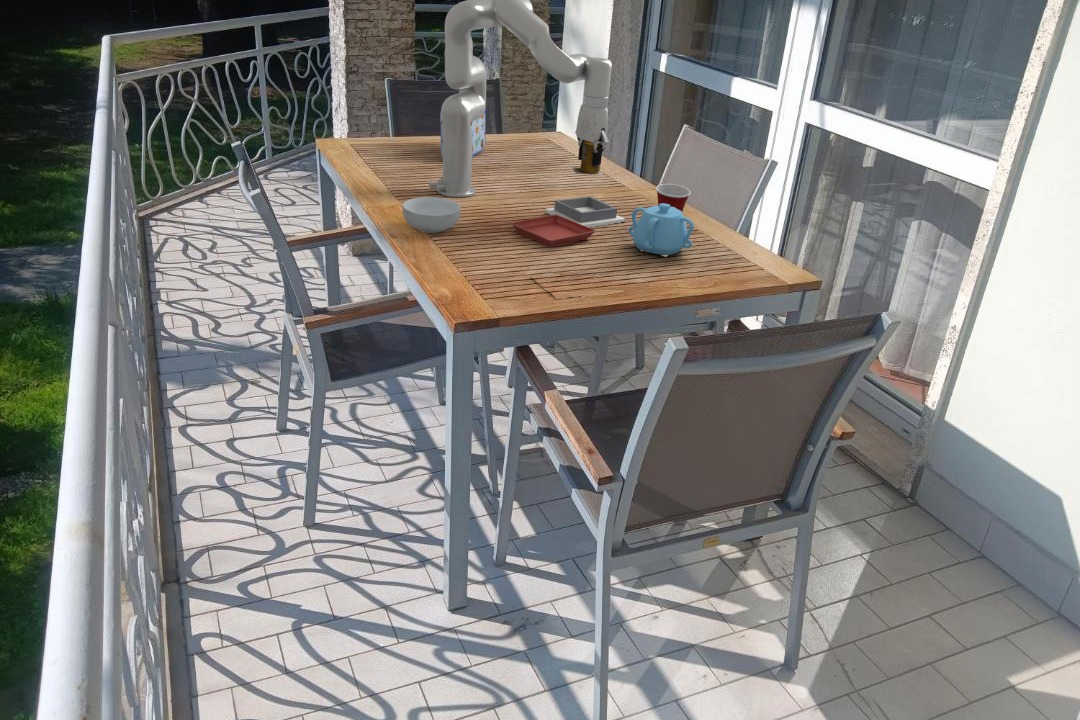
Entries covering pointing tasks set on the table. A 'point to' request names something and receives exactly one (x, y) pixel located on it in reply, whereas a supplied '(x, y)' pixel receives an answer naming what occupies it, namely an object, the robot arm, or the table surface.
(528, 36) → the robot arm
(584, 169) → the condiment
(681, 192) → the plastic cup
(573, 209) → the holder
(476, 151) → the lunch box
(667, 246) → the decorative pot
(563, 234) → the plant saucer
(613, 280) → the table surface
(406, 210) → the cereal bowl
